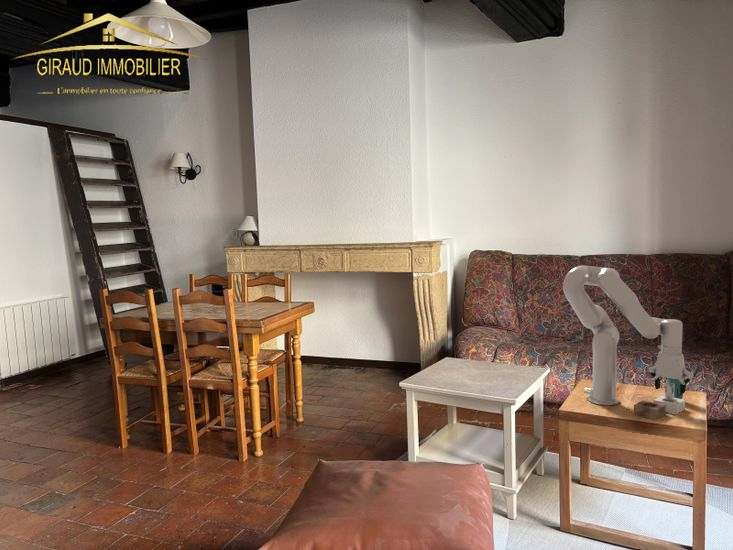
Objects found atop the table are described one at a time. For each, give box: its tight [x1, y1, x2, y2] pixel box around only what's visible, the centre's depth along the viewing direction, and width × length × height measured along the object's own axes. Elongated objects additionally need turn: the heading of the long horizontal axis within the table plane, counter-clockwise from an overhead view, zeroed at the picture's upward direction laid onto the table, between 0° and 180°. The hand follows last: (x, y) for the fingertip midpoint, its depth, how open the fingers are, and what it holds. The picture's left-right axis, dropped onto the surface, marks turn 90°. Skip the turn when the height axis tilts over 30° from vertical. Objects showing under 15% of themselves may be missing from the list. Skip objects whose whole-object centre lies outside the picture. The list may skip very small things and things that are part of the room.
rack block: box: [653, 395, 686, 415], centre depth 251 cm, size 9×9×4 cm
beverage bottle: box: [667, 378, 684, 399], centre depth 262 cm, size 6×7×20 cm
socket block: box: [633, 399, 667, 421], centre depth 245 cm, size 9×9×4 cm
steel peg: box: [664, 381, 675, 402], centre depth 251 cm, size 3×3×11 cm
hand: (669, 390), depth 251 cm, fingers open, 9 cm apart
